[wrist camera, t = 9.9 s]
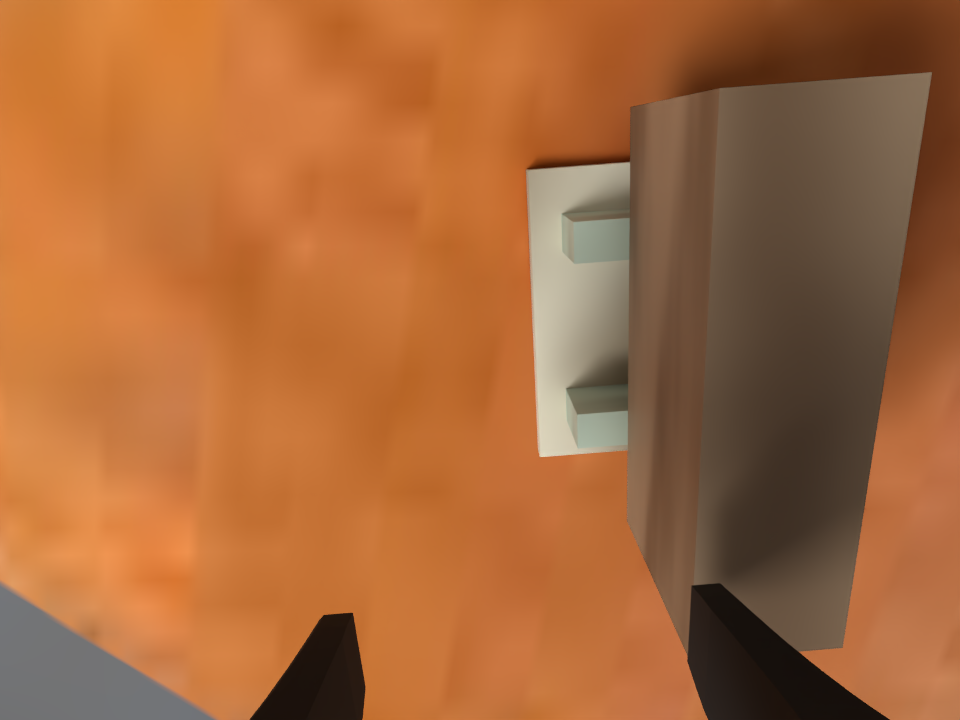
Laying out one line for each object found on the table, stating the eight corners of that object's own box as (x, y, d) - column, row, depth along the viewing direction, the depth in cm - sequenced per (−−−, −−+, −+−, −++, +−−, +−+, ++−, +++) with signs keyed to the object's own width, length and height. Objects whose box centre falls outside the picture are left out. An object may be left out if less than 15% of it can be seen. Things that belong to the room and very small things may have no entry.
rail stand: (805, 148, 20) (858, 149, 17) (777, 430, 23) (818, 467, 21) (526, 169, 20) (536, 173, 17) (537, 449, 23) (548, 488, 20)
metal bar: (770, 96, 17) (931, 72, 11) (738, 511, 21) (842, 647, 15) (630, 107, 17) (719, 88, 11) (626, 520, 21) (689, 660, 15)
